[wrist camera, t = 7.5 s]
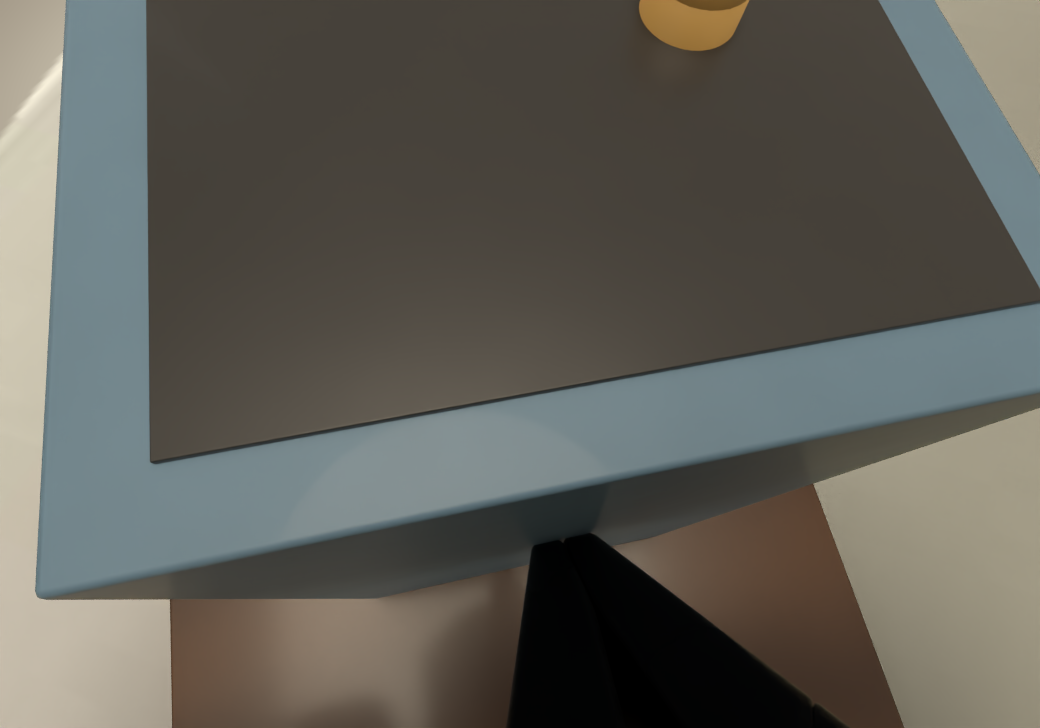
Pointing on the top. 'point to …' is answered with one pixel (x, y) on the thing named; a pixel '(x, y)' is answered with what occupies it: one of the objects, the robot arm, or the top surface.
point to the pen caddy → (505, 278)
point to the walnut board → (496, 625)
